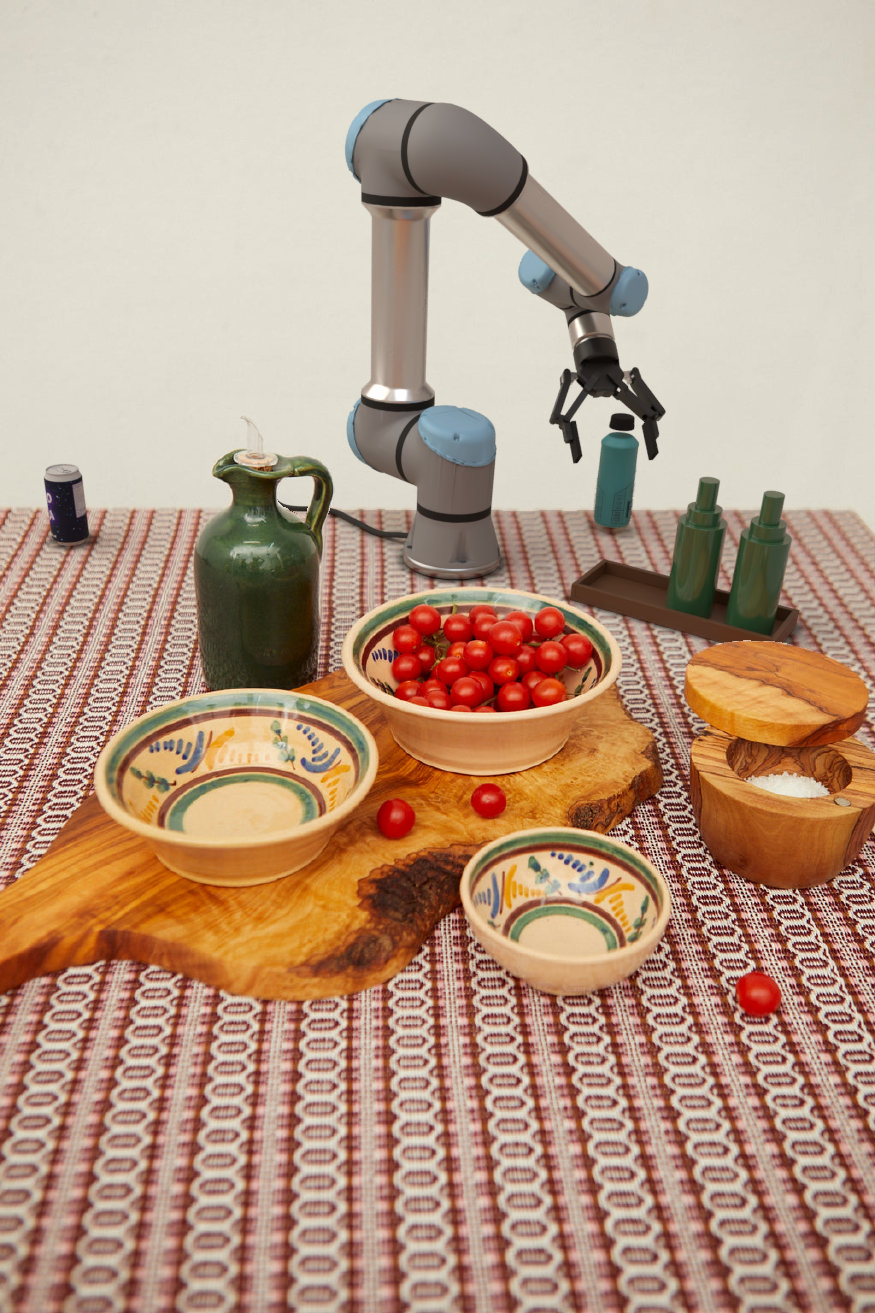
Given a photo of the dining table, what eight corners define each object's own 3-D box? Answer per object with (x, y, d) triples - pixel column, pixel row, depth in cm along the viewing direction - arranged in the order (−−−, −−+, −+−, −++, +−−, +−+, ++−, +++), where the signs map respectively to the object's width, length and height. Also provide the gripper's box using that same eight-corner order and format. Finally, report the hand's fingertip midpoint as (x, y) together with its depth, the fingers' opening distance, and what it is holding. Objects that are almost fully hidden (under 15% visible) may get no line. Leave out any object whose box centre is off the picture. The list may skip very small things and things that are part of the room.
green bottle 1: (657, 613, 159) (677, 481, 149) (674, 596, 164) (694, 468, 154) (702, 625, 156) (725, 491, 146) (718, 608, 161) (741, 478, 151)
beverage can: (74, 531, 178) (65, 460, 173) (97, 540, 176) (88, 468, 170) (45, 541, 174) (34, 469, 169) (68, 550, 172) (58, 477, 166)
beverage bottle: (628, 538, 185) (643, 422, 175) (589, 533, 186) (602, 418, 176) (630, 524, 191) (645, 411, 181) (592, 520, 192) (604, 407, 182)
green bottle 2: (717, 629, 155) (741, 495, 145) (733, 612, 160) (757, 481, 150) (764, 642, 151) (792, 506, 142) (779, 624, 157) (806, 492, 147)
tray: (569, 599, 163) (571, 583, 162) (602, 573, 172) (603, 558, 170) (772, 657, 149) (775, 640, 148) (796, 626, 158) (799, 609, 157)
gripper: (652, 357, 195) (675, 465, 190) (519, 359, 190) (539, 471, 184) (669, 333, 188) (693, 444, 183) (531, 335, 183) (552, 450, 177)
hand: (616, 458), depth 184 cm, fingers open, 13 cm apart
